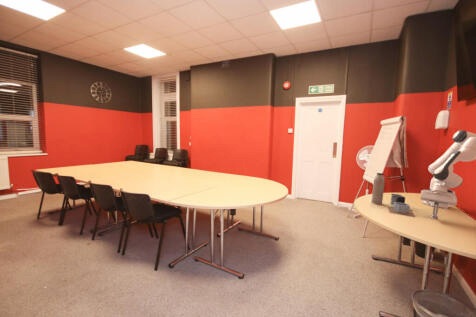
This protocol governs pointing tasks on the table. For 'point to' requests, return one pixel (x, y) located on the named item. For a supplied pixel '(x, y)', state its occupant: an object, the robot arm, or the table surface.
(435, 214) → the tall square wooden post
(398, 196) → the small box
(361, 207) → the table surface
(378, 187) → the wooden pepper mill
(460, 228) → the table surface
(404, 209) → the utensil crock
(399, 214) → the serving board
